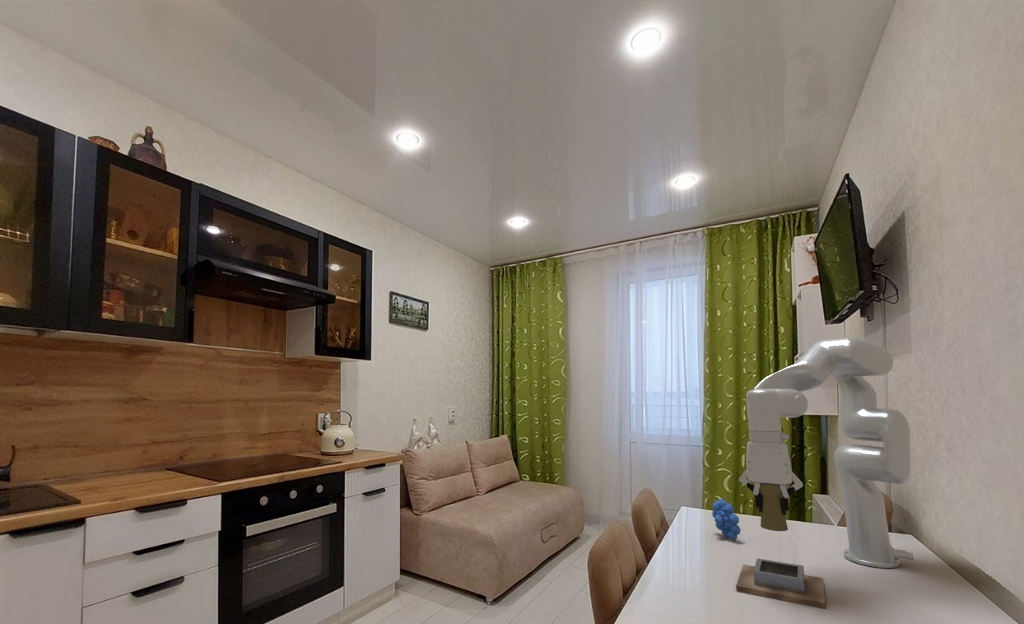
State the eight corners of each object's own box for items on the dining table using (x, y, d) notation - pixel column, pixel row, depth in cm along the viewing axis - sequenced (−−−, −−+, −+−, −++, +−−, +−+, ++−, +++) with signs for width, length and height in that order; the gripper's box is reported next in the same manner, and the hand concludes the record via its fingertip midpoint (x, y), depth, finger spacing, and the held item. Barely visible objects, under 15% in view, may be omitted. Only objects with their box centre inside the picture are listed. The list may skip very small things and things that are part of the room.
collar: (804, 578, 115) (803, 565, 116) (804, 594, 107) (803, 580, 107) (758, 570, 121) (757, 558, 121) (754, 584, 112) (753, 571, 113)
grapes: (704, 534, 155) (701, 496, 157) (721, 532, 156) (718, 495, 158) (729, 545, 143) (725, 505, 145) (746, 543, 145) (743, 503, 147)
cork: (787, 532, 112) (783, 485, 113) (759, 528, 115) (755, 482, 117) (788, 526, 117) (783, 481, 118) (761, 522, 120) (757, 478, 122)
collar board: (823, 583, 115) (822, 577, 116) (825, 608, 102) (825, 603, 102) (743, 569, 125) (743, 564, 125) (736, 591, 111) (735, 585, 112)
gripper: (804, 438, 118) (812, 513, 115) (731, 435, 127) (737, 504, 124) (804, 440, 112) (812, 520, 109) (728, 437, 121) (734, 511, 118)
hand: (772, 511), depth 116 cm, fingers closed on cork, 4 cm apart
